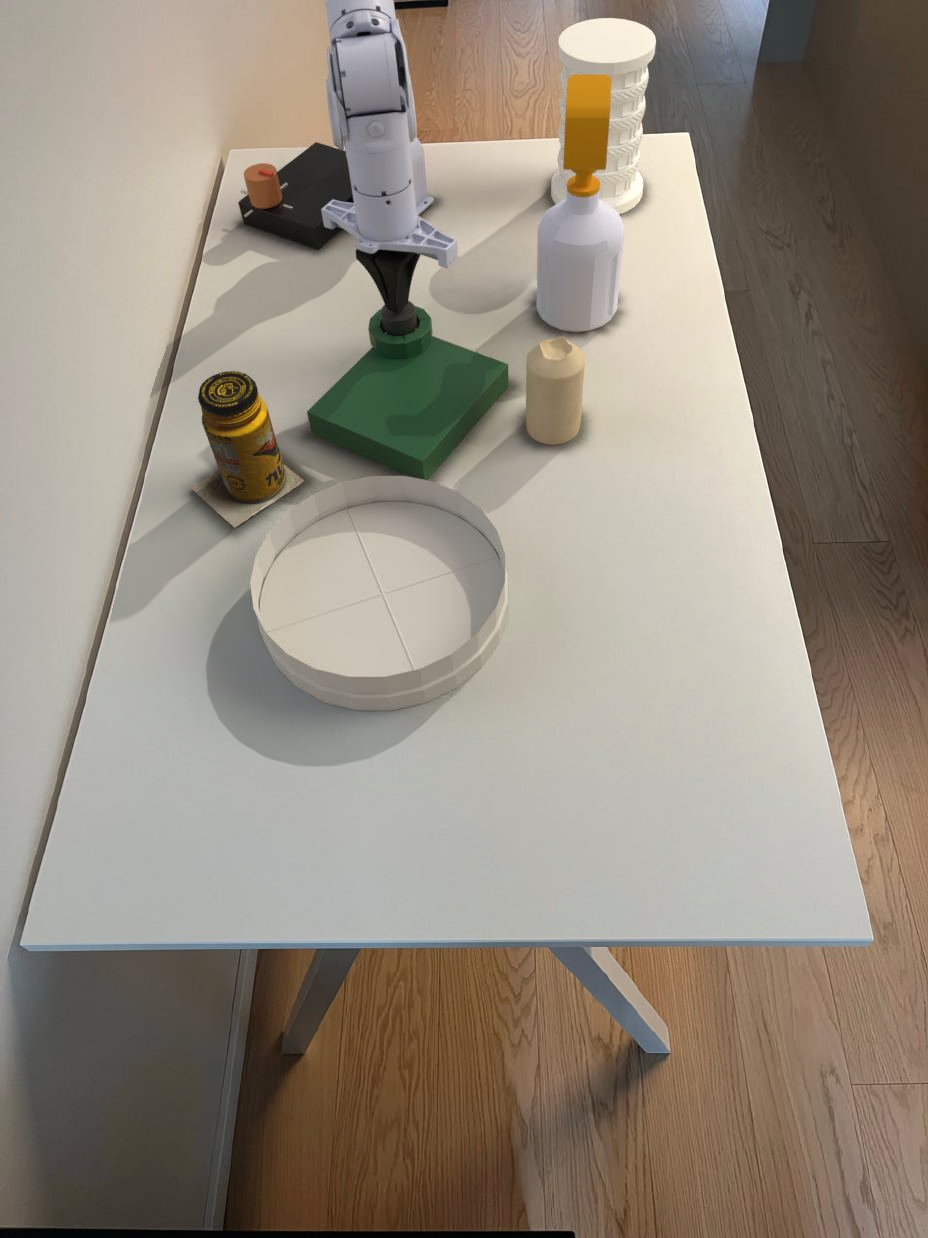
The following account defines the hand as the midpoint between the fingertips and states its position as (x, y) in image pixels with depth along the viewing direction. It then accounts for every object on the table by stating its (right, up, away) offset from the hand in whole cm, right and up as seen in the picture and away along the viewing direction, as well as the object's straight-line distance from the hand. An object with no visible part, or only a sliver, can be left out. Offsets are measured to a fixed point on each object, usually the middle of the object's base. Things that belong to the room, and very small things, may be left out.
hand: (397, 305), depth 98 cm
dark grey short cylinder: (0, -1, +2) cm, 3 cm away
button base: (+1, -10, +1) cm, 11 cm away
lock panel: (-13, +21, +24) cm, 34 cm away
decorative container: (+24, +22, +23) cm, 40 cm away
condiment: (-14, -19, -4) cm, 24 cm away
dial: (-18, +20, +20) cm, 33 cm away
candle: (+16, -13, -1) cm, 20 cm away
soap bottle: (+20, +3, +10) cm, 22 cm away
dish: (0, -31, -13) cm, 34 cm away
